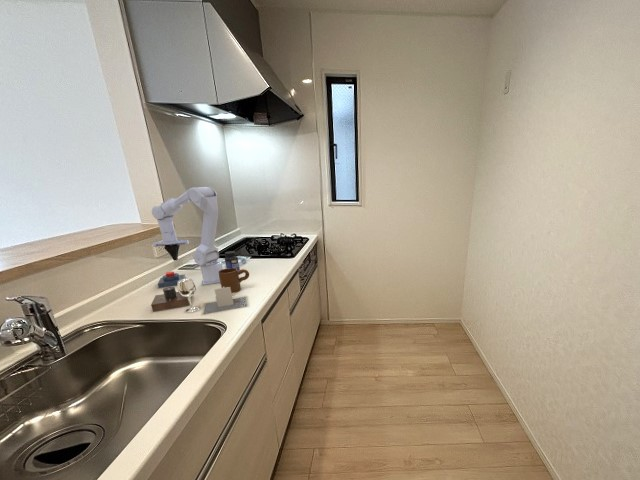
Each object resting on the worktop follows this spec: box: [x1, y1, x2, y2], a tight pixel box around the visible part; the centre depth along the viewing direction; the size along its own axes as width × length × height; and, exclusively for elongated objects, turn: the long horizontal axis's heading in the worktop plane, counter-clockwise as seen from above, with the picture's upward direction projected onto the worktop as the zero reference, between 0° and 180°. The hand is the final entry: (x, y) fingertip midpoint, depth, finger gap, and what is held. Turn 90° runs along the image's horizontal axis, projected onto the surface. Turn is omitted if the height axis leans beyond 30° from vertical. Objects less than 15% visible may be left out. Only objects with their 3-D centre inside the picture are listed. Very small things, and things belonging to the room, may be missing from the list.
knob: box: [162, 286, 177, 299], centre depth 124 cm, size 4×4×4 cm
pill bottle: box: [224, 250, 241, 271], centre depth 162 cm, size 6×6×11 cm
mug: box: [219, 268, 250, 293], centre depth 138 cm, size 12×8×9 cm, turn 111°
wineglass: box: [176, 278, 200, 313], centre depth 118 cm, size 6×6×12 cm
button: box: [164, 271, 176, 277], centre depth 148 cm, size 4×4×2 cm
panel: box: [150, 291, 192, 313], centre depth 126 cm, size 12×11×3 cm
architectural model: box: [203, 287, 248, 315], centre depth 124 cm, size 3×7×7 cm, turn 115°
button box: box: [157, 272, 187, 289], centre depth 149 cm, size 10×10×4 cm
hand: (175, 259), depth 152 cm, fingers closed
